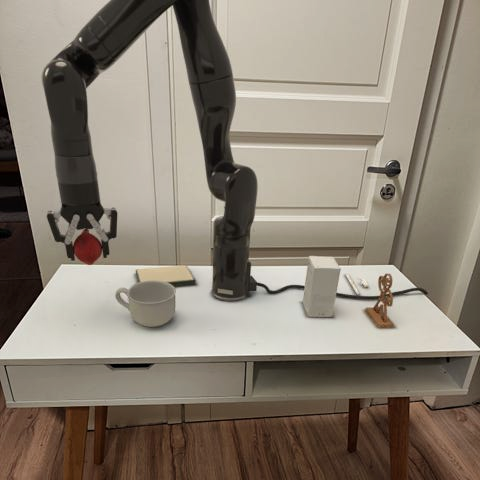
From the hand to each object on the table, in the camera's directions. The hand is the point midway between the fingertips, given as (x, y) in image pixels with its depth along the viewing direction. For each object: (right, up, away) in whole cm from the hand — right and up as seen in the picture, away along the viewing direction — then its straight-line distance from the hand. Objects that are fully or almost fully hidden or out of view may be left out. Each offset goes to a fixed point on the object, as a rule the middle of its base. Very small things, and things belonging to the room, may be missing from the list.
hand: (89, 257), depth 93 cm
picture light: (+67, -4, +31) cm, 74 cm away
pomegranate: (0, -2, +1) cm, 2 cm away
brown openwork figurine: (+67, -13, +14) cm, 70 cm away
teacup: (+11, -13, +8) cm, 19 cm away
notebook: (+11, -2, +28) cm, 31 cm away
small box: (+52, -11, +16) cm, 56 cm away
